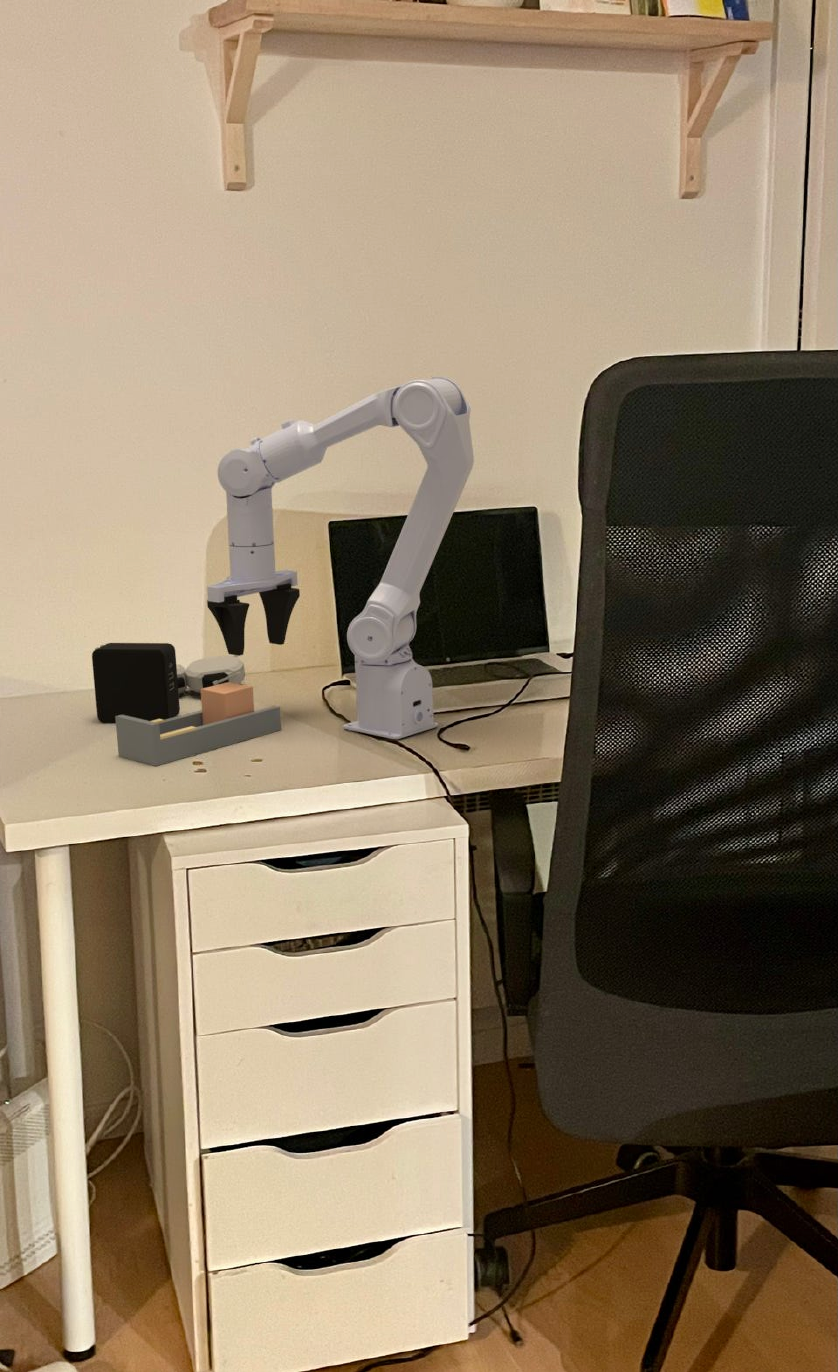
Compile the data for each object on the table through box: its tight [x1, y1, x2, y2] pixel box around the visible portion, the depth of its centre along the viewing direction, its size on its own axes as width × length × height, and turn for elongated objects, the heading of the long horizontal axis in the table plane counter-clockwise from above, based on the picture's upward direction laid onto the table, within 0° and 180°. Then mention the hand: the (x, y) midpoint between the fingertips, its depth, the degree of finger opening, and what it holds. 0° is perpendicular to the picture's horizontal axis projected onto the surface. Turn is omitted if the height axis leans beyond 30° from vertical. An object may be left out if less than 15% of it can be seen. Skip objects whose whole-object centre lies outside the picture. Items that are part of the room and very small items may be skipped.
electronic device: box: [91, 642, 181, 725], centre depth 199 cm, size 4×10×10 cm, turn 78°
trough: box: [115, 705, 282, 767], centre depth 187 cm, size 20×7×5 cm, turn 138°
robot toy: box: [176, 655, 246, 694], centre depth 214 cm, size 12×4×15 cm
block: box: [200, 682, 255, 725], centre depth 190 cm, size 5×5×5 cm
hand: (256, 649), depth 194 cm, fingers open, 7 cm apart
